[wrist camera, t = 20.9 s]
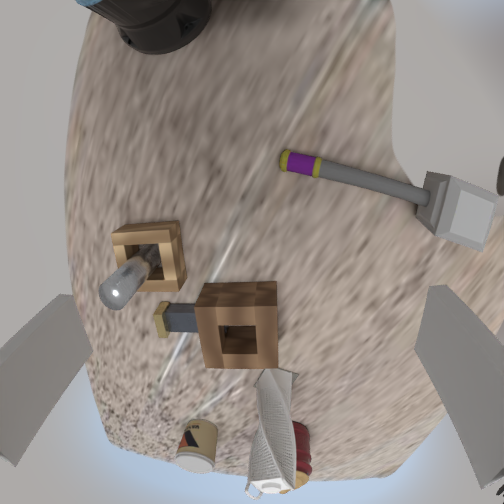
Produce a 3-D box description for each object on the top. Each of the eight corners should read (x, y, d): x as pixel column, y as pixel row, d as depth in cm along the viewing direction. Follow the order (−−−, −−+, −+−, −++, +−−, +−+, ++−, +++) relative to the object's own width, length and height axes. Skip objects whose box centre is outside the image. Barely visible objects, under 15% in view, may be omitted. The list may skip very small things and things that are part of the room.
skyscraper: (247, 383, 59) (233, 502, 33) (262, 357, 56) (253, 486, 30) (283, 394, 59) (284, 510, 33) (301, 369, 57) (310, 494, 30)
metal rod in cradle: (142, 240, 49) (95, 281, 34) (164, 239, 48) (121, 281, 33) (146, 262, 50) (103, 309, 35) (167, 262, 50) (129, 310, 35)
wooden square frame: (124, 224, 48) (110, 233, 43) (178, 220, 47) (168, 229, 42) (135, 278, 51) (123, 291, 47) (187, 277, 51) (179, 291, 46)
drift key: (166, 324, 54) (158, 337, 50) (161, 301, 52) (153, 314, 48) (229, 325, 53) (225, 339, 49) (226, 301, 51) (222, 315, 47)
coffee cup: (199, 412, 63) (189, 451, 52) (228, 430, 65) (222, 468, 54) (177, 424, 66) (166, 460, 55) (205, 441, 68) (197, 477, 56)
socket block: (213, 340, 55) (205, 368, 47) (204, 283, 51) (194, 307, 43) (278, 339, 54) (278, 368, 46) (276, 281, 50) (276, 305, 42)
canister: (260, 448, 67) (256, 503, 51) (253, 421, 63) (248, 483, 47) (309, 444, 66) (313, 500, 49) (308, 416, 62) (313, 479, 45)
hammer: (262, 190, 36) (486, 255, 29) (273, 127, 33) (503, 197, 26) (287, 181, 50) (452, 228, 43) (295, 136, 47) (464, 185, 40)
